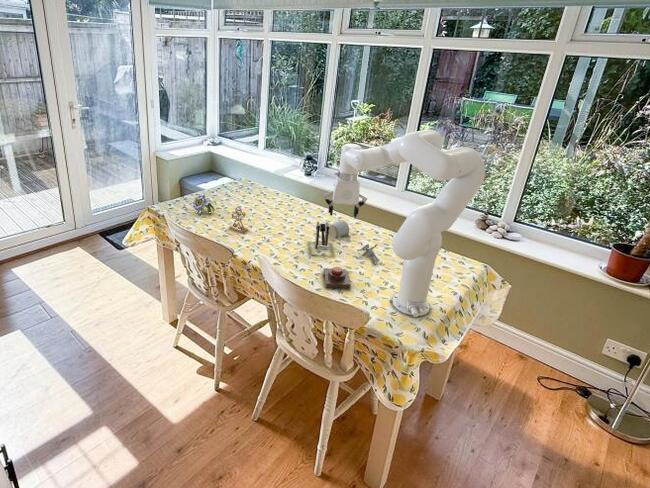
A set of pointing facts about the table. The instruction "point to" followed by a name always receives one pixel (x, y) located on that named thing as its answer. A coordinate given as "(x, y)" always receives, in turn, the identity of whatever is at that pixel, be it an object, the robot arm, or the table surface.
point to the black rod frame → (325, 234)
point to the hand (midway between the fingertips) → (342, 215)
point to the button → (337, 271)
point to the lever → (322, 230)
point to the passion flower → (202, 204)
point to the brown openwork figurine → (239, 221)
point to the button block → (336, 279)
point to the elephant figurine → (370, 253)
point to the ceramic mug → (339, 229)
